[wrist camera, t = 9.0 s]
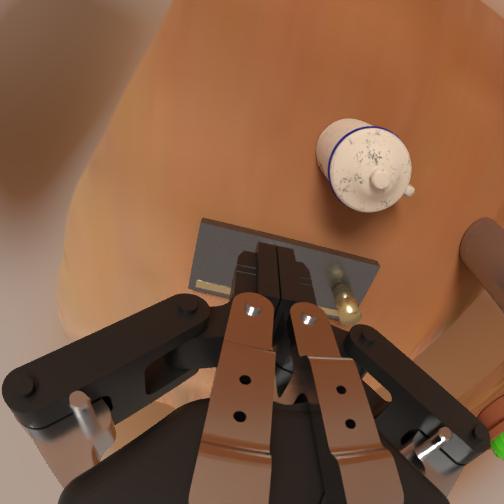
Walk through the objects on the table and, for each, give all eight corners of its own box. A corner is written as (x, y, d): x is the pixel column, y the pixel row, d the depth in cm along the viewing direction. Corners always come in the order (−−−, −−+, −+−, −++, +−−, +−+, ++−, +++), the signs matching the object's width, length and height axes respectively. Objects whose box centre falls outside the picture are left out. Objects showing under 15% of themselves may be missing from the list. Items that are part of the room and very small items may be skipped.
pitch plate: (377, 261, 44) (393, 291, 38) (347, 315, 50) (357, 348, 43) (202, 217, 41) (192, 245, 35) (189, 282, 47) (180, 315, 40)
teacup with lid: (300, 167, 37) (317, 201, 27) (333, 103, 33) (364, 112, 23) (378, 205, 40) (413, 249, 30) (410, 149, 35) (458, 177, 25)
